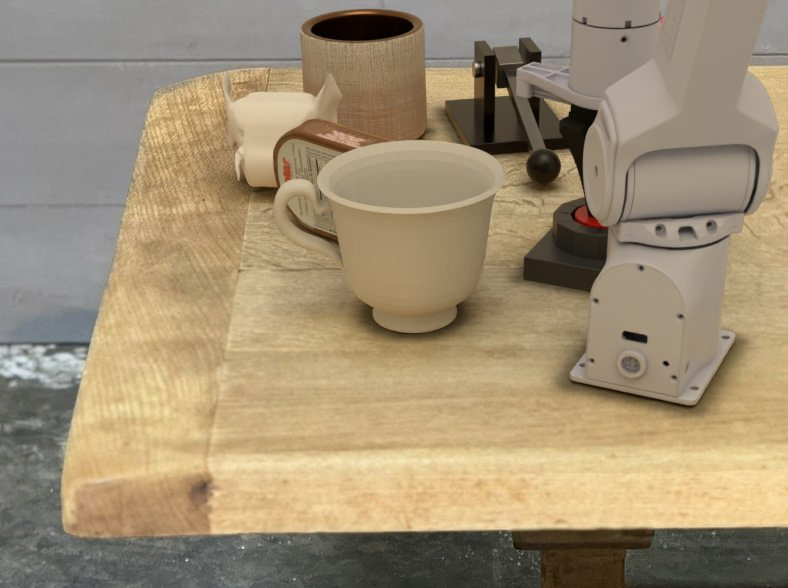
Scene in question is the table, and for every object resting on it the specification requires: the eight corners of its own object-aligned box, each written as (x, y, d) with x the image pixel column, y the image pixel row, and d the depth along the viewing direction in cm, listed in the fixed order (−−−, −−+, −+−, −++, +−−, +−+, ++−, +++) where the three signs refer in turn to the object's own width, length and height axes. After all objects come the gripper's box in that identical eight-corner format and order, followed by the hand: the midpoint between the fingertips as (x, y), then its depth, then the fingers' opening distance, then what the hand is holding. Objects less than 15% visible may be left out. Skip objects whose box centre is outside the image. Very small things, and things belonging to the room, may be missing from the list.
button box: (631, 299, 90) (635, 251, 88) (522, 279, 93) (524, 232, 91) (674, 243, 98) (679, 198, 96) (572, 226, 101) (574, 182, 99)
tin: (444, 261, 96) (443, 149, 91) (415, 276, 94) (413, 162, 90) (299, 211, 105) (291, 105, 100) (270, 223, 103) (261, 116, 98)
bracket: (571, 147, 114) (576, 62, 110) (469, 156, 113) (469, 70, 109) (539, 103, 124) (542, 23, 120) (444, 110, 123) (444, 30, 119)
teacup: (284, 282, 94) (272, 145, 88) (492, 271, 95) (494, 134, 89) (282, 364, 84) (268, 217, 79) (514, 352, 85) (518, 204, 79)
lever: (562, 190, 107) (566, 160, 105) (528, 192, 106) (531, 163, 104) (518, 71, 118) (520, 42, 116) (487, 73, 117) (489, 45, 115)
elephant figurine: (208, 210, 105) (195, 99, 100) (244, 156, 115) (234, 52, 110) (326, 213, 104) (319, 101, 99) (352, 158, 114) (347, 54, 109)
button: (619, 252, 92) (621, 229, 91) (565, 243, 94) (566, 220, 93) (637, 231, 95) (639, 208, 94) (585, 222, 97) (586, 199, 96)
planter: (301, 157, 114) (293, 44, 109) (310, 115, 123) (303, 9, 118) (426, 155, 114) (425, 41, 108) (427, 112, 123) (425, 6, 117)
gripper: (747, 21, 84) (723, 221, 92) (561, -13, 92) (553, 174, 100) (688, 47, 80) (668, 255, 88) (498, 9, 88) (495, 203, 96)
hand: (603, 214), depth 94 cm, fingers closed, pressing on button
